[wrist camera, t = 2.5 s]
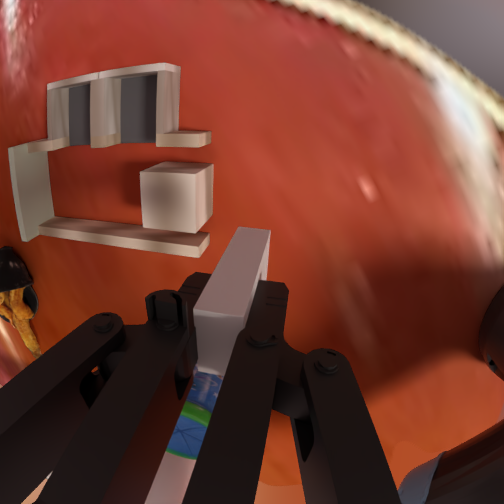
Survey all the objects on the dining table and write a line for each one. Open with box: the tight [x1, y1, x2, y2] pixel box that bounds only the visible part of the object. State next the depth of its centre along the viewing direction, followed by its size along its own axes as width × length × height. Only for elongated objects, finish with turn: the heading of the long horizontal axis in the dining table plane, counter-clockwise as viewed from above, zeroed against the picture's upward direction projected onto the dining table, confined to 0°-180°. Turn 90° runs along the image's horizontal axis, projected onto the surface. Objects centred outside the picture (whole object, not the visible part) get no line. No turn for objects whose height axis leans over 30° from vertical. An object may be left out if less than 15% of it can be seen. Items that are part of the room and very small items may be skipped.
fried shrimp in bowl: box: [0, 246, 42, 359], centre depth 34 cm, size 9×11×18 cm
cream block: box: [140, 162, 213, 233], centre depth 25 cm, size 4×4×4 cm
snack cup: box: [166, 363, 224, 460], centre depth 32 cm, size 16×10×10 cm
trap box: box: [8, 63, 211, 258], centre depth 24 cm, size 20×16×5 cm
